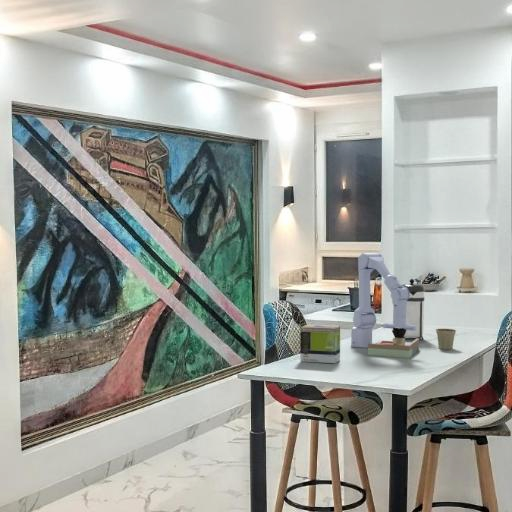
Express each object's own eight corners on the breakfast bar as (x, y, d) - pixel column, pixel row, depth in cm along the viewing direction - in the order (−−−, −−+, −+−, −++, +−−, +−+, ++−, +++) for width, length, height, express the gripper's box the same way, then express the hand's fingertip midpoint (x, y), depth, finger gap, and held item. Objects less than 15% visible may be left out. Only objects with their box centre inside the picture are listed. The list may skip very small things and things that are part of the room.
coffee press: (433, 339, 394) (435, 279, 393) (411, 341, 385) (412, 280, 384) (408, 335, 409) (409, 277, 407) (386, 337, 400) (387, 278, 398)
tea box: (340, 360, 333) (340, 325, 332) (334, 364, 324) (335, 328, 323) (306, 358, 338) (306, 323, 337) (299, 361, 329) (299, 326, 328)
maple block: (392, 349, 344) (392, 339, 344) (394, 347, 348) (394, 337, 348) (402, 350, 342) (402, 339, 342) (404, 348, 346) (404, 338, 346)
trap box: (368, 354, 347) (368, 343, 347) (379, 346, 369) (380, 336, 369) (409, 357, 340) (409, 346, 340) (418, 349, 363) (418, 338, 362)
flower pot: (456, 350, 361) (456, 331, 360) (435, 349, 362) (435, 331, 362) (455, 347, 370) (455, 329, 369) (434, 346, 372) (435, 328, 371)
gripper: (418, 315, 348) (417, 345, 349) (387, 312, 355) (386, 342, 356) (413, 317, 342) (412, 348, 342) (381, 314, 349) (381, 344, 350)
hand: (399, 345), depth 349 cm, fingers closed, pressing on maple block
